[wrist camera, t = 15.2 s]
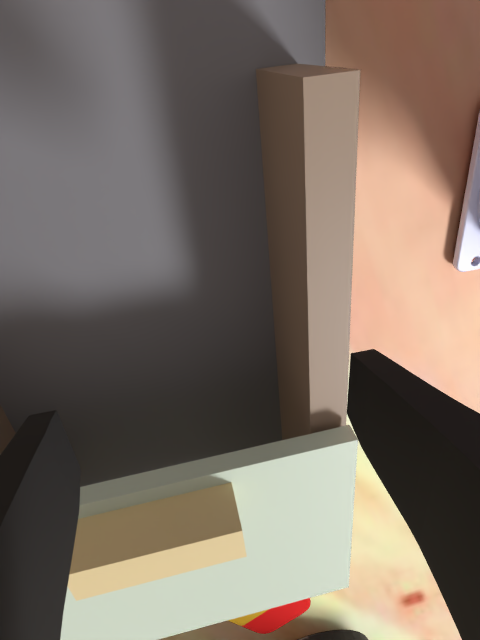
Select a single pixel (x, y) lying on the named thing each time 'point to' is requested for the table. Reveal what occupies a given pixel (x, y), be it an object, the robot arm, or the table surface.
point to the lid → (212, 539)
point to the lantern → (336, 635)
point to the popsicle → (272, 617)
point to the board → (174, 226)
